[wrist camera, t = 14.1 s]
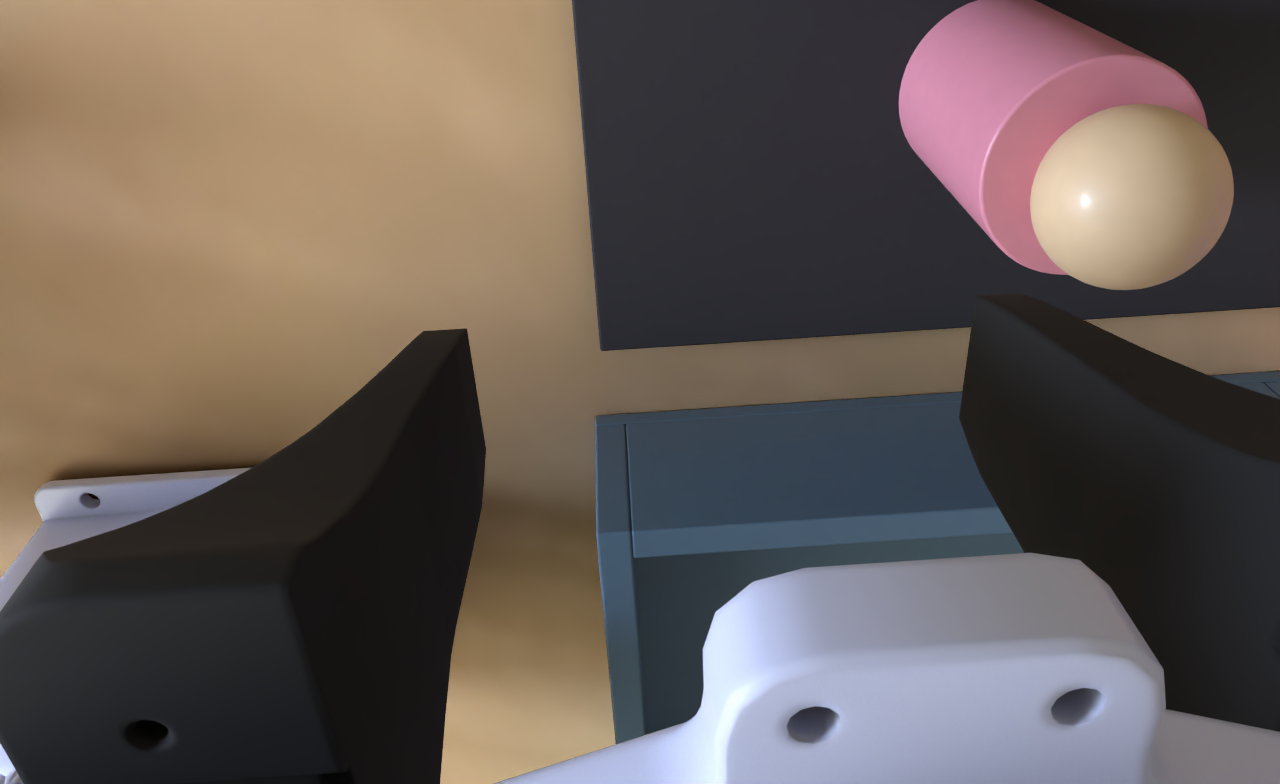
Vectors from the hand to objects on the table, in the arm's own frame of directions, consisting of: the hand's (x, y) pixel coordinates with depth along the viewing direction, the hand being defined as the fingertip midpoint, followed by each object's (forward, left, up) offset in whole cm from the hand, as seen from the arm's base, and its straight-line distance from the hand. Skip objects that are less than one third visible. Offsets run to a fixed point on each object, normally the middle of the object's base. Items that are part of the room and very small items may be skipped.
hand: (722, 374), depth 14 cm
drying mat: (+7, +1, -10) cm, 13 cm away
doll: (+7, +1, -10) cm, 12 cm away
